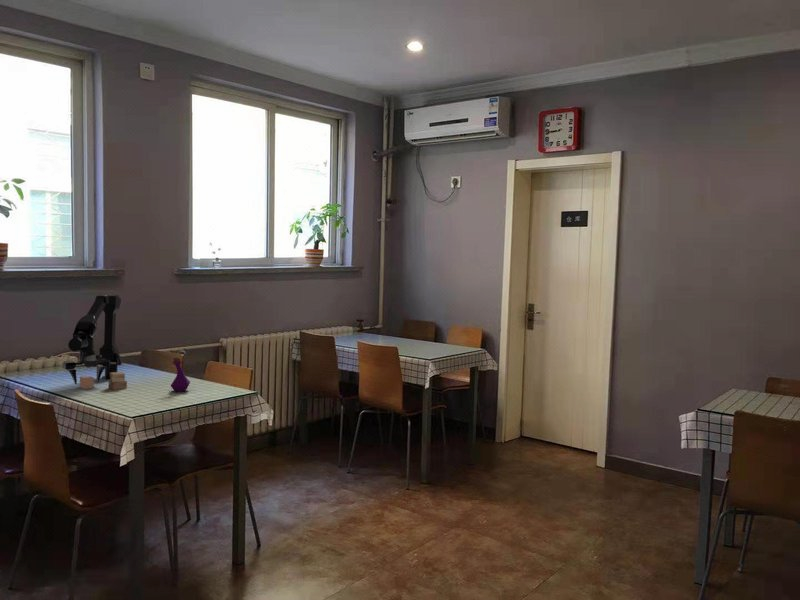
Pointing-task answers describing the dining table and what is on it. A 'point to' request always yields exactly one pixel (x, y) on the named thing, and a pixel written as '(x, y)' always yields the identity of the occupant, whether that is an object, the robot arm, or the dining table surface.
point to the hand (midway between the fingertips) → (86, 383)
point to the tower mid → (117, 377)
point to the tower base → (117, 385)
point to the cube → (87, 382)
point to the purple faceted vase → (179, 377)
